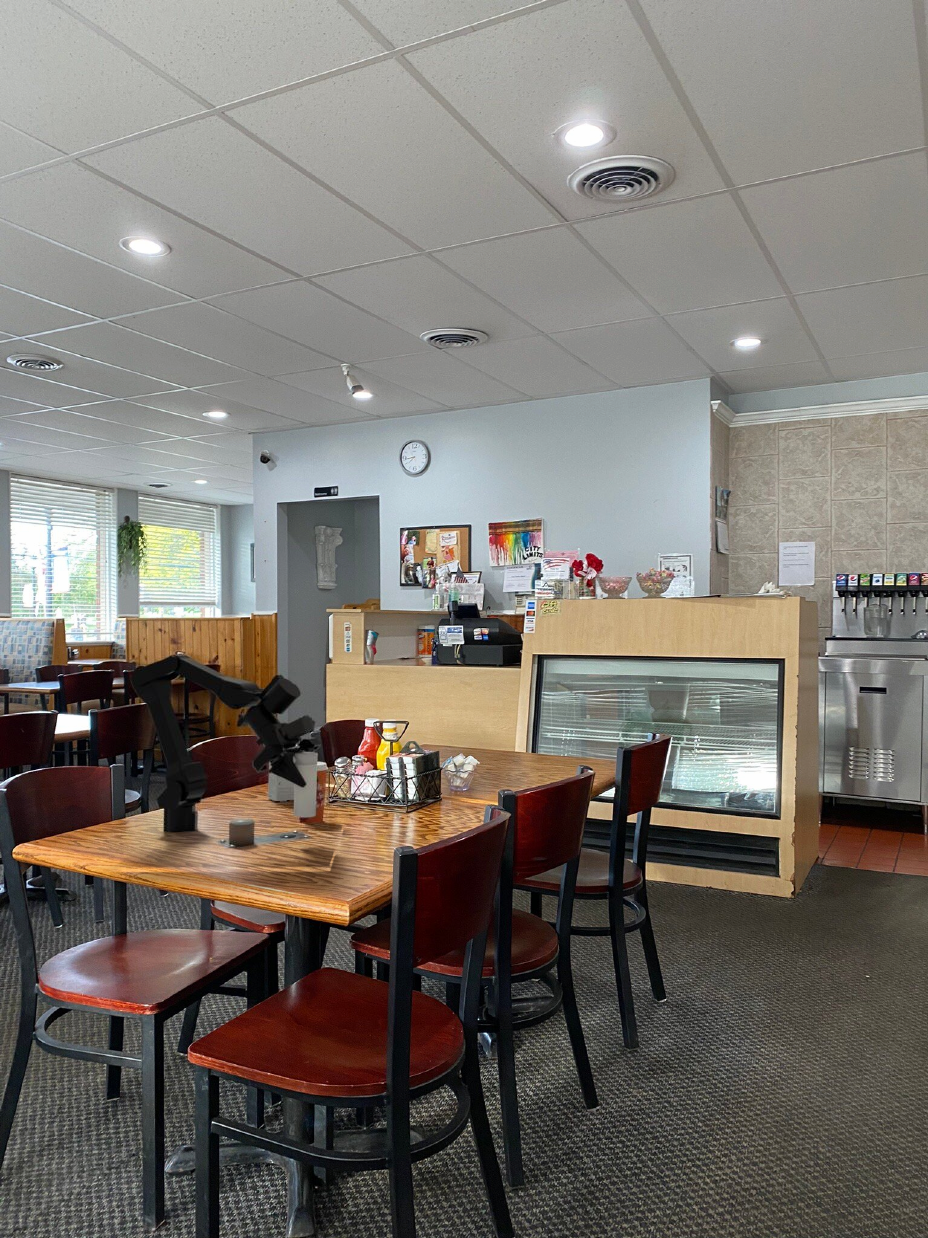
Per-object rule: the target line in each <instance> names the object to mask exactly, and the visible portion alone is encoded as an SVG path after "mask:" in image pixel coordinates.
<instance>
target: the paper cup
mask: <svg viewBox="0 0 928 1238" xmlns="http://www.w3.org/2000/svg"><path fill="white" fill-rule="evenodd" d="M328 770H329V767H328V766H327V763H326V762H323V761H317V776H318V779H319V782H318V783H317V786H316V816H313V817H298V819H299V823H300V824H321V823H323V822H324V812H325V803H326V801H325V799H326V786H327V785H326V784H327V771H328Z"/></svg>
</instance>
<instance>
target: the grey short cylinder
mask: <svg viewBox="0 0 928 1238" xmlns="http://www.w3.org/2000/svg"><path fill="white" fill-rule="evenodd" d="M254 820H255V819H253V818H245V817H244V818H234V819H231V820H230V821H229V824H228V840H229V844H233V845H246V844H251V843H254V836H255V821H254Z"/></svg>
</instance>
